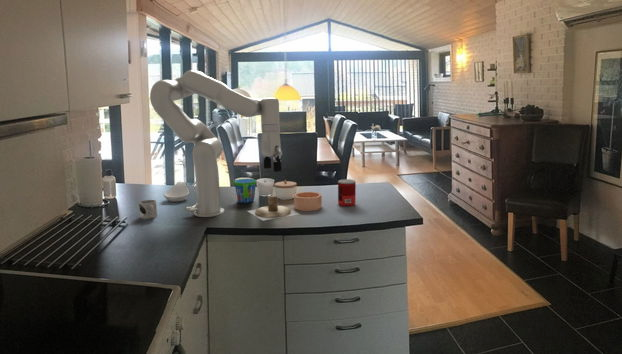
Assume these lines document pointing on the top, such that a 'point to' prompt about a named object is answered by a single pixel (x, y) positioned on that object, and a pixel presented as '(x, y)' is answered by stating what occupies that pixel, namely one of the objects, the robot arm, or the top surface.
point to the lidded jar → (285, 190)
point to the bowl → (307, 201)
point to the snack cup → (245, 190)
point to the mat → (274, 217)
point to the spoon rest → (177, 192)
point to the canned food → (346, 192)
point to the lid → (272, 209)
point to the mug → (148, 209)
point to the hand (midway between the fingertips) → (272, 169)
